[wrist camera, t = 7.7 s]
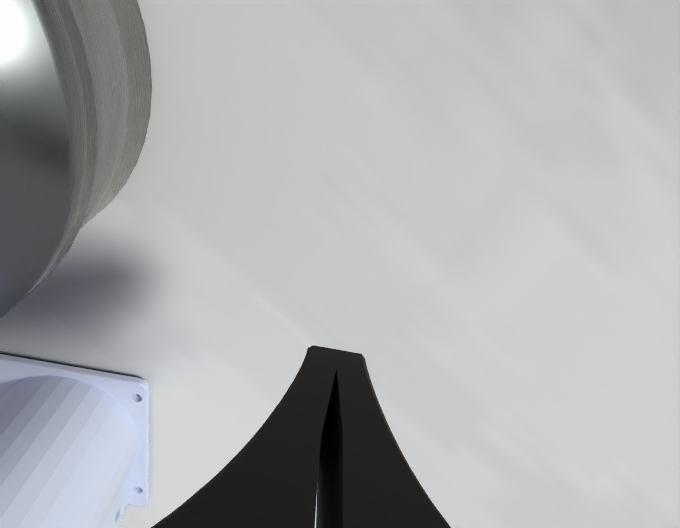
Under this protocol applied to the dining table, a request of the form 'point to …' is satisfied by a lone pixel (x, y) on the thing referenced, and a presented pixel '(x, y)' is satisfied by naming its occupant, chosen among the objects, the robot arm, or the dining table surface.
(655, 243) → the dining table surface
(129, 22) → the cooker pot
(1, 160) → the cooker lid
